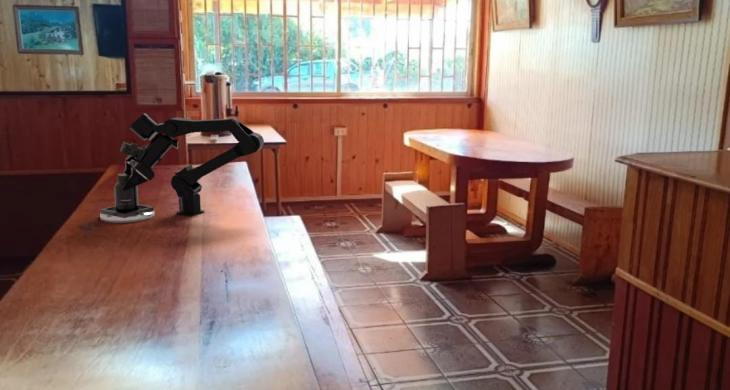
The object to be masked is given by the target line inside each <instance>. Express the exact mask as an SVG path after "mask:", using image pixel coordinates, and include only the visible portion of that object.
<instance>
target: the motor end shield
mask: <svg viewBox="0 0 730 390" xmlns="http://www.w3.org/2000/svg"><path fill="white" fill-rule="evenodd" d="M138 207H139V210H137V211H132V212H128V213H120V212H116V208H115V205H113V206H109V207H105V208H100V213H99V216H100V219H99V220H101V221H102V222H105V223H110V224H111V223H113V224H129V223H130V224H131V223H137V222H143V221H147V220H149V219H152V218H153V217H155V208H154V206H151V205H150V206H149V205H145V204H140V203H138Z"/></svg>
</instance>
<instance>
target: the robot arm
mask: <svg viewBox="0 0 730 390" xmlns="http://www.w3.org/2000/svg"><path fill="white" fill-rule="evenodd" d="M129 129H130V130H131V131H132V132H134V134H136V135H137V136H138V137H139V138H141V139H142V140H143V141H146V140H148V141H150V142H148V143H147V144H146V145H142V146H141V147H139V146H138V144H137V143H133V142H131V143H128V142H126V141H123V142H122V144H121V147H120V150H119V152H120V153H121V154H123V155H127V156H126V158H125V161H124V164H125V166H124V167H125V169H124V171H123V173H122V174H124V173H130V174H131V176H130V177H129V179H128V180H127V182H126V183H125V185H124V186H123V188H122V190H124V191H126V190H128V189H131V188H133V187H135V186H140V185H143V184H145V183H147V182H149V181H152V180H153V179H154V178H155V171H154V170H153V167H154V166H155V165H156V164H157V163H158V162H159V163H160V162H162V157H163V156H165V154H166V153H167V152H169V150H170V149H171V148H172V147H174V148H175V149H176V150H178V149H179V140H178V139H175V138H177V137H181V136H186V135H190V134H193V133H211V132H212V133H214V132H215V133H217V132H229V133H230V134H231V135H232V136H233V137H234V139H235V140H236V141H237V143H236V144H235V145H234V146H232V147H231V148H229V149H227V150H226V151H224V152H222V153H220V154H218V155H216V156H215V157H213V158H210V159H209V160H207V161H205V162H204V163H202V164H200V165H197V166H195V167H193V166H192V164H191V163H190V164H188V165H187V166H185V167H184V168H180V169H179V170H177V171H175V172H174V174H175V175H173V176H172V177H171V178H170V185H171V188H172V189H173V190H174V191H175V193H176V195H177V197H178V209H179V211H178V210H177V211H175V212H176V214H177V215H183V216H187V217H192V216H195V215H199V214H203V213H205V210H202V209H201V194H199V193H201V191H202V188H203V185H202V184H201V183H200V182H199V181H200V180H201V179H202V178H203V177H205V176H207V175H208V174H210V173H212V172H214V171H216V170H218V169H220V168H222V167H224V166H226V165H228V164H229V163H231V162H232V161H235V160H236V159H238V158H242V157H246V156H249V155H252V154H255V153H257V152H258V151H260V150H261V149H263V146H264V144H265V140H264V137H263V136H262V135H261V134H260V133H258V132H254V131H253V130H252V129H251V128H249V127H248V126H246V125H245V124H244V123H242V121H240V120H239V119H238V118H236V117H231V118H219V119H217V118H216V119H215V118H214V119H198V120H197V119H190V118H185V117H172V118H169V119H166V120H165V121H164V122H161V123H157V122H156V121H155V120H153V118H151V117H150V116H149V115H148V114H147V113H142V114H141V115H140V116H139V117H138V118H137V119H135V120H134V121H133V122H132V123H131V125H130V127H129Z"/></svg>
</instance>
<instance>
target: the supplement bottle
mask: <svg viewBox="0 0 730 390" xmlns="http://www.w3.org/2000/svg"><path fill="white" fill-rule="evenodd" d="M130 176H131V174H130V173H124V174H123V173H118V174H117V176H116V179H117V182H116V183H115V184H114V187H113V188H114V189H113V190H114V204H115V205H114V206H115V208H116V212H120V213H128V212H132V211H137V210H139V207H138V204H139V188H138V186H139V185H137V186H135V187H133V188H131V189H128V190H126V191H124V190H122V188H123V186H124V185H125V183H126V182H127V180H128V179H129V177H130Z"/></svg>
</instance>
